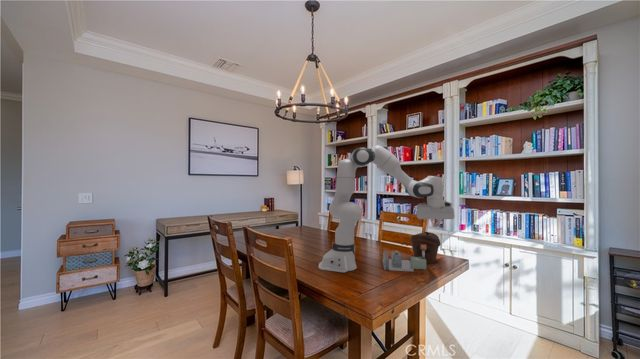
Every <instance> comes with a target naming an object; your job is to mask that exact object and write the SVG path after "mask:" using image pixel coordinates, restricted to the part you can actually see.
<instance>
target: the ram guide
mask: <svg viewBox="0 0 640 359" xmlns="http://www.w3.org/2000/svg"><path fill="white" fill-rule="evenodd" d="M413 258H422V257H414V256H410V259H409V261H410V263H411V265H412V267H413V269H414V270H427V263H426V260H425V259H413Z"/></svg>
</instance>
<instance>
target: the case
mask: <svg viewBox="0 0 640 359" xmlns="http://www.w3.org/2000/svg"><path fill="white" fill-rule="evenodd" d="M410 236H411V237H410V240H409V242H410V243H411V249H412V253H413V257H422V250H421V244H426V250H425V259H426V264H433V263H436V262H437V255H438V252H439V248H440V247H441V246H442V245H441V240H440V238H439V236H438V235H437V234H436V233H433V232H429V231H425V232H420V233H416V234H413V235H410Z"/></svg>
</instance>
